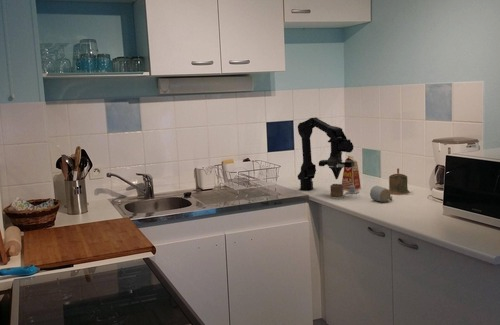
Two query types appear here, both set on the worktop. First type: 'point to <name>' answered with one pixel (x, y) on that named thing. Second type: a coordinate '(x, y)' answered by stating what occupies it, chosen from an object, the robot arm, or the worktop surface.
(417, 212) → the worktop surface
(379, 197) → the ceramic mug
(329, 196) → the post
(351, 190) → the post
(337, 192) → the brown rectangular block
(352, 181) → the milk carton
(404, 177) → the rusty brown bell
